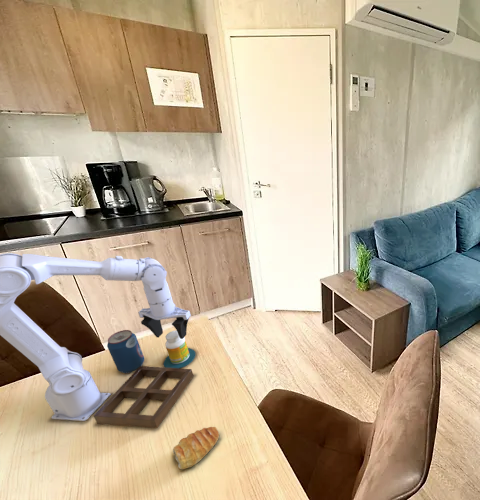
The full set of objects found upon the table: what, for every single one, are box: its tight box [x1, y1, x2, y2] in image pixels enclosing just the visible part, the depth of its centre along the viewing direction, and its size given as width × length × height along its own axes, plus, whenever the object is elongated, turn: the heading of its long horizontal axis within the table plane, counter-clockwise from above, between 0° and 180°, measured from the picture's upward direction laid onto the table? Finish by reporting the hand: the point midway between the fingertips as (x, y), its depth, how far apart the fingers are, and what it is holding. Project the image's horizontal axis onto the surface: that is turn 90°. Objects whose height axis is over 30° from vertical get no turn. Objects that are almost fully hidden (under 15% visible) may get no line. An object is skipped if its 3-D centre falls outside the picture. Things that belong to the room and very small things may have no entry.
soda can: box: [106, 329, 145, 374], centre depth 86 cm, size 7×7×12 cm
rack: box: [92, 365, 194, 429], centre depth 78 cm, size 16×16×3 cm
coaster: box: [163, 347, 196, 369], centre depth 92 cm, size 9×9×1 cm
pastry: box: [172, 426, 220, 470], centre depth 66 cm, size 9×7×4 cm
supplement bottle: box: [164, 329, 189, 364], centre depth 90 cm, size 5×5×10 cm
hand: (171, 335), depth 87 cm, fingers open, 7 cm apart
